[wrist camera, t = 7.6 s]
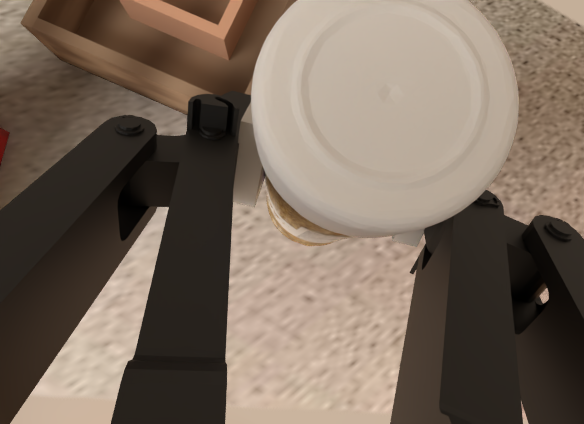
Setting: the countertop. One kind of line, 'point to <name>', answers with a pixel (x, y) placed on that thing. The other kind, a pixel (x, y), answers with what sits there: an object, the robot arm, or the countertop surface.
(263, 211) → the countertop surface
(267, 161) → the sprinkles bottle
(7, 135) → the baking soda box
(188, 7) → the walled box
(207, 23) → the inlet collar
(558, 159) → the countertop surface
